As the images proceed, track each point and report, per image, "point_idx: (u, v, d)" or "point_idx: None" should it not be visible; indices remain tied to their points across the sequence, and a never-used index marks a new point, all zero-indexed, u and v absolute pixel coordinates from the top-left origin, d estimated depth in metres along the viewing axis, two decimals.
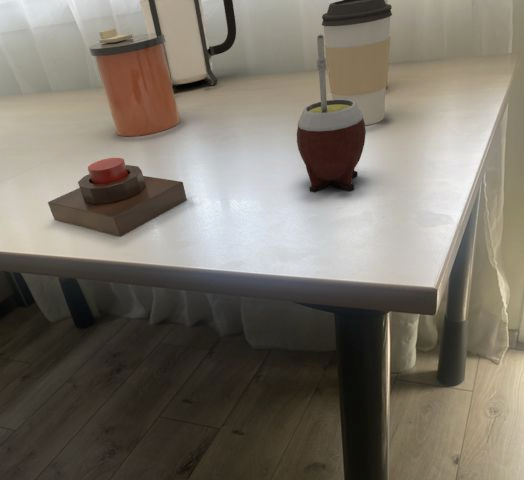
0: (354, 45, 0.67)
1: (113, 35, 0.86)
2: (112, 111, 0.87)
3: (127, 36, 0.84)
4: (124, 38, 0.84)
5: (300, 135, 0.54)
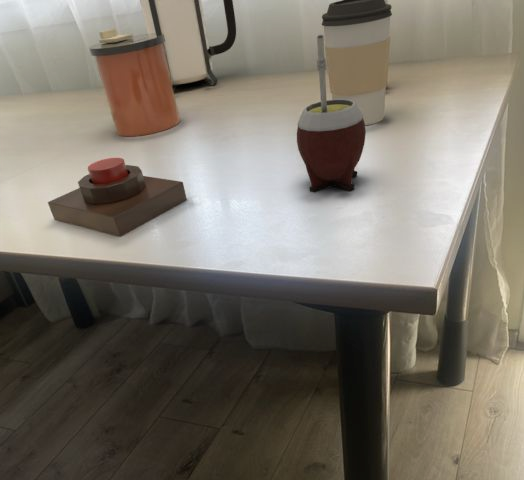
0: (354, 45, 0.67)
1: (113, 35, 0.86)
2: (112, 111, 0.87)
3: (127, 36, 0.84)
4: (124, 38, 0.84)
5: (300, 135, 0.54)
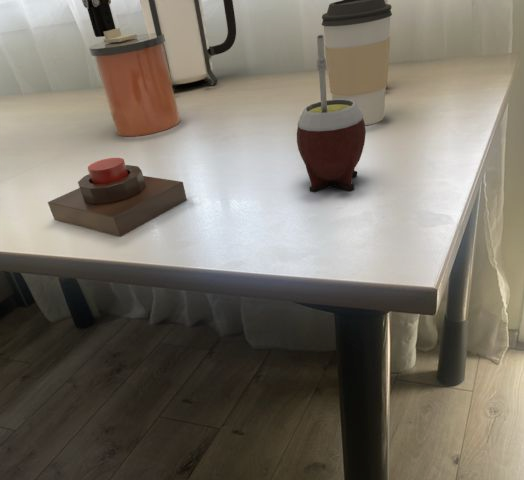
0: (354, 45, 0.67)
1: (117, 35, 0.85)
2: (112, 111, 0.87)
3: (131, 36, 0.84)
4: (128, 38, 0.83)
5: (300, 135, 0.54)
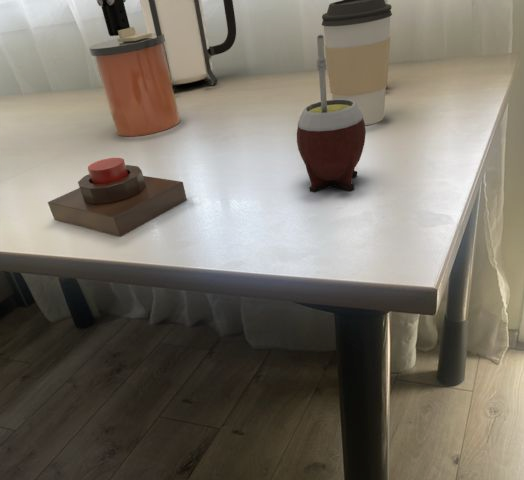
0: (354, 45, 0.67)
1: (132, 34, 0.83)
2: (112, 111, 0.87)
3: (146, 35, 0.82)
4: (143, 37, 0.81)
5: (300, 135, 0.54)
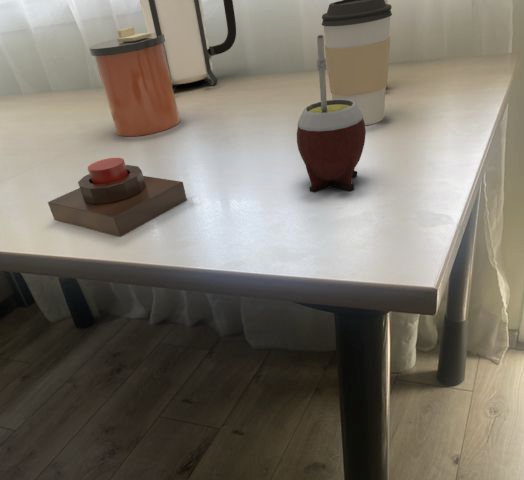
0: (354, 45, 0.67)
1: (131, 34, 0.83)
2: (112, 111, 0.87)
3: (146, 35, 0.82)
4: (143, 37, 0.81)
5: (300, 135, 0.54)
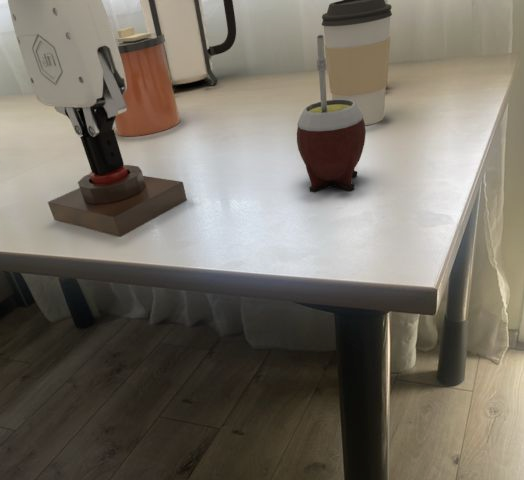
0: (354, 45, 0.67)
1: (131, 34, 0.83)
2: None
3: (146, 35, 0.82)
4: (143, 37, 0.81)
5: (300, 135, 0.54)
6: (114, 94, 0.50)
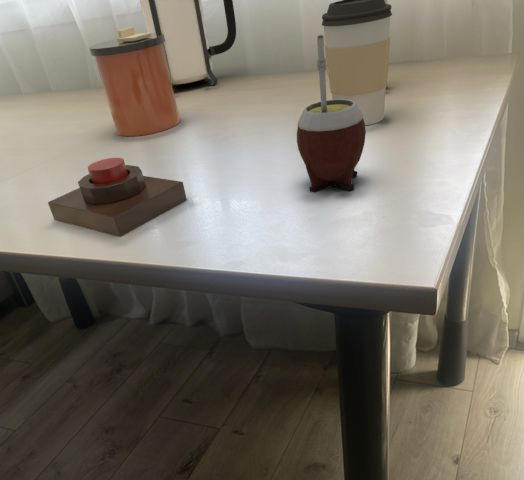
0: (354, 45, 0.67)
1: (131, 34, 0.83)
2: (112, 111, 0.87)
3: (146, 35, 0.82)
4: (143, 37, 0.81)
5: (300, 135, 0.54)
6: None
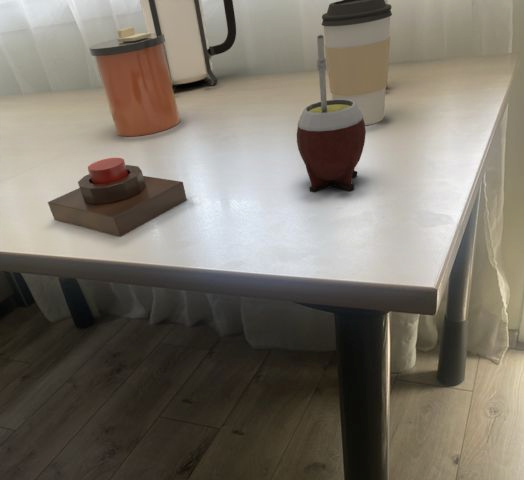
0: (354, 45, 0.67)
1: (131, 34, 0.83)
2: (112, 111, 0.87)
3: (146, 35, 0.82)
4: (143, 37, 0.81)
5: (300, 135, 0.54)
6: None
